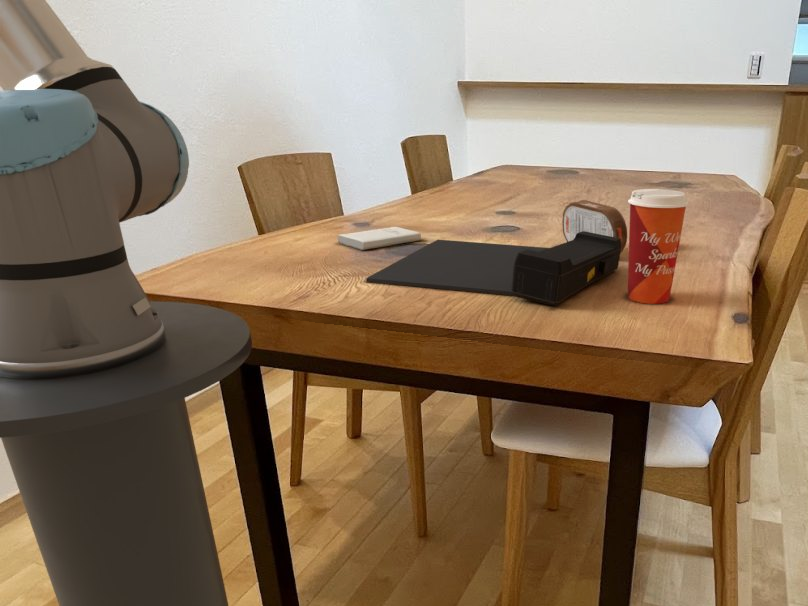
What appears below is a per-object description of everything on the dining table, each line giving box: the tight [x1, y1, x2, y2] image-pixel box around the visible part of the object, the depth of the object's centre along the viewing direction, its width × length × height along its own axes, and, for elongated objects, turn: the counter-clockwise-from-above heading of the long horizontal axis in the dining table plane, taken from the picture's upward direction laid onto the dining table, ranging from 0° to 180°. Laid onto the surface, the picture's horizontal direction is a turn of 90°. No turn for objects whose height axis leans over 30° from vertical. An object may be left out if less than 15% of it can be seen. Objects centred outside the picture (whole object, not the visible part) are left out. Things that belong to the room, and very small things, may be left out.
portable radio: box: [512, 231, 622, 307], centre depth 95 cm, size 8×6×25 cm
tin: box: [561, 199, 628, 255], centre depth 113 cm, size 15×3×8 cm, turn 32°
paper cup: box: [627, 188, 690, 305], centre depth 87 cm, size 8×8×14 cm
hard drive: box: [337, 226, 422, 251], centre depth 120 cm, size 2×8×12 cm
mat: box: [365, 239, 549, 297], centre depth 105 cm, size 24×28×1 cm
